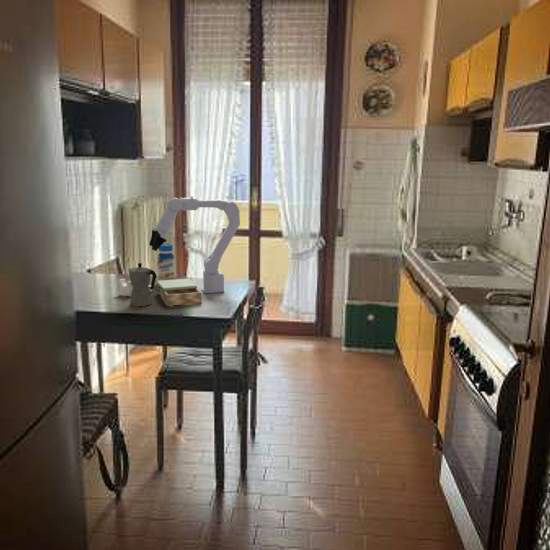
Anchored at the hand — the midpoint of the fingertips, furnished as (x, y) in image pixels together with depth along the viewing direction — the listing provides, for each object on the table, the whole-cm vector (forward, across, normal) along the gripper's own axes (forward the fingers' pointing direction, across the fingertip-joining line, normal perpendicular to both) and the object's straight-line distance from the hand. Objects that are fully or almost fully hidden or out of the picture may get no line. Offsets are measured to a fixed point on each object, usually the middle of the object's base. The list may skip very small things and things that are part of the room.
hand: (152, 247), depth 250 cm
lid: (+12, +12, +16) cm, 24 cm away
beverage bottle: (+16, -14, +18) cm, 28 cm away
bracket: (+23, +2, +3) cm, 23 cm away
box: (+13, +21, +17) cm, 30 cm away
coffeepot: (+21, +22, +2) cm, 30 cm away
